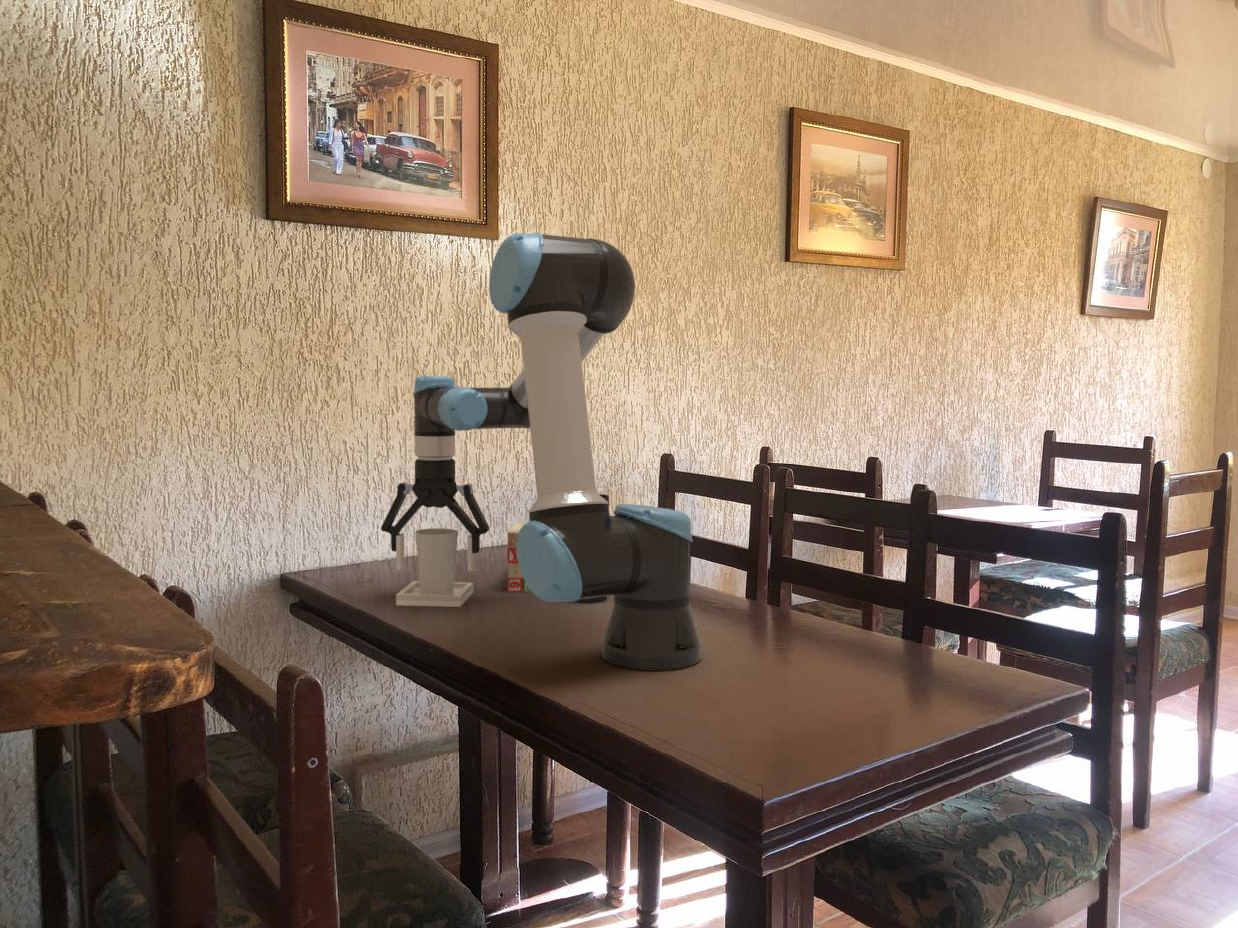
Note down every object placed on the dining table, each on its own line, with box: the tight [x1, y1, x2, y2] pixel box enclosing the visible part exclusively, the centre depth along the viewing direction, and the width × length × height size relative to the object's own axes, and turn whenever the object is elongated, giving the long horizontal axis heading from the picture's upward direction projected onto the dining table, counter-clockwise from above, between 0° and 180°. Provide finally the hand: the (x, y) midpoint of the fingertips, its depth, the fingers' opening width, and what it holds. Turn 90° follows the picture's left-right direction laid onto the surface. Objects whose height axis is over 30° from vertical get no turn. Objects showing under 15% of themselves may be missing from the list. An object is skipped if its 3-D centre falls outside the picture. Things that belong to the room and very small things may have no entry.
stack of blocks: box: [506, 522, 533, 593], centre depth 205 cm, size 21×6×12 cm, turn 0°
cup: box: [415, 527, 459, 595], centre depth 187 cm, size 8×8×12 cm
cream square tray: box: [395, 580, 474, 608], centre depth 188 cm, size 12×12×2 cm
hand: (435, 569), depth 188 cm, fingers open, 13 cm apart
